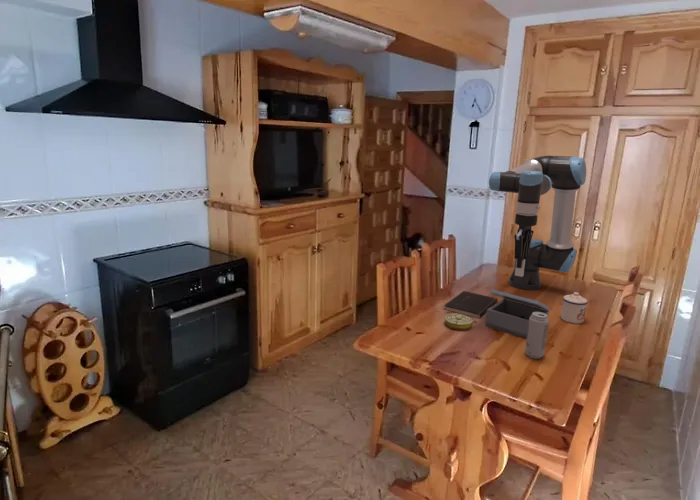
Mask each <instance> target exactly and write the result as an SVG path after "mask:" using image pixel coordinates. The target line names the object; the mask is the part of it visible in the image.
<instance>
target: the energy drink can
mask: <svg viewBox="0 0 700 500" xmlns="http://www.w3.org/2000/svg"><path fill="white" fill-rule="evenodd" d="M549 323H550V321H549V314H548V315H547V314H545V313H542V312H533V313H532V315H531V316H530V318H529V326H528V333H527V339H526V340H525V349H524V352H525V354H526V356H527V357H528V358H531V359H537V360H539V359H542V357H544V356H545V349H546V344H547V343H546V342H547V336H548V330H549V329H548V328H549Z"/></svg>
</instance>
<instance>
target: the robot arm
mask: <svg viewBox="0 0 700 500" xmlns="http://www.w3.org/2000/svg"><path fill="white" fill-rule="evenodd" d="M488 178H489V179H488V187H489V190H491V191H492V192H493V191H495V192H498V193H499V192H502V193H513V194H517V201H516V209H515V212H516V214H515V216H514V224H515V225H518V229H517V230H516V231H517V232H516V234H514V236H513V237H514V257H513V259H514V267H513V270H512V273H511V274H510V276H509V278H508V285H510V286H512V287H514V288H517V289H522V290H525V291H527V290H529V291H530V290H531V291H534V290H535V291H536V290H540V289H541V287H542V279H541V275H540V268H541V269H545V270H550V271H554V272H558V273H569V272H570V271H571V270H572V268H573V267H574V263H575V261H576V259H577V254H578V253H577V252H578V250H577V249H576V248H574V243H573V242H572V241H571V237H572V229H573V222H574V221H573V219H574V212H575V203H576V193H577V192H578V190H580V189H581V186H583V185H584V184H585V183H586V178H587V164H586V161H585V159H584V158H582V157H575V156H566V155H565V156H564V155H541V156H537V157H534V158H529V159H527V160H525V161H524V162H522V164H521V165H518V166H517V167H513V168H512V169H509V170H507V171H503V172H502V171H493V172H491V174H490V176H489V177H488ZM551 188H552V190H553V191H554V195H553V196H554V197H553V204H552V205H553V207H552V216H551V228H550V238H549V240H547V241H546V242H545V243H544V240H542V239H537V238H533V235H534V232H535V231H534V230H532V227H535V226H536V225H537V223H538V213H539V210H540V208H541V206H540V200H541V196H543V195H545V194H547V193H548V192H549V191H550V190H551Z"/></svg>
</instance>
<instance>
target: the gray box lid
mask: <svg viewBox="0 0 700 500" xmlns="http://www.w3.org/2000/svg"><path fill="white" fill-rule="evenodd" d="M489 293H492V294H494V295H495V296H497V297H500V298H502V300H503V299H506V300H510V301H514V302H517V303H521V304H525V305H529V306H532V307H536V308H540V309H544V310H547V311H549V312H550V311H551V307H550V306H547V305H546V304H545V303H542V302H540V301H539V300H535V299H531V298H527V297H524V296H519V295H517V294H512V293H508V292H504V291H501V290H500V291H499V290H495V289H493V288H490V291H489Z"/></svg>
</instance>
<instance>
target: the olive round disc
mask: <svg viewBox="0 0 700 500" xmlns="http://www.w3.org/2000/svg"><path fill="white" fill-rule="evenodd" d="M444 321H445V322H444V323H445V324H446V326H448V328H450V329H454V330H457V331H466V330H469V329H470V328H472V326H473V325H474V320H473V318H472V317H471V316H469V315H465V314H461V313H449V314H447V315H446V316H445V317H444Z"/></svg>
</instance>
